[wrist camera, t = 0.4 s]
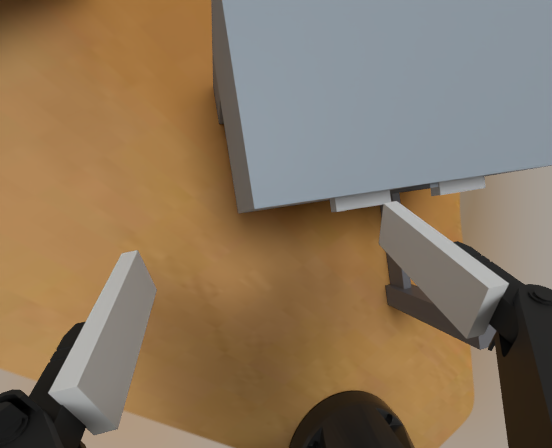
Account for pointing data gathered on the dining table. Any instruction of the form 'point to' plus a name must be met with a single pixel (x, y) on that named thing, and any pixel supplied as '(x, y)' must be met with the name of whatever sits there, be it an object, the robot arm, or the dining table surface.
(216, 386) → the dining table surface
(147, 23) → the dining table surface
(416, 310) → the l-shaped tool
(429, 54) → the cabinet
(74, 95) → the dining table surface
